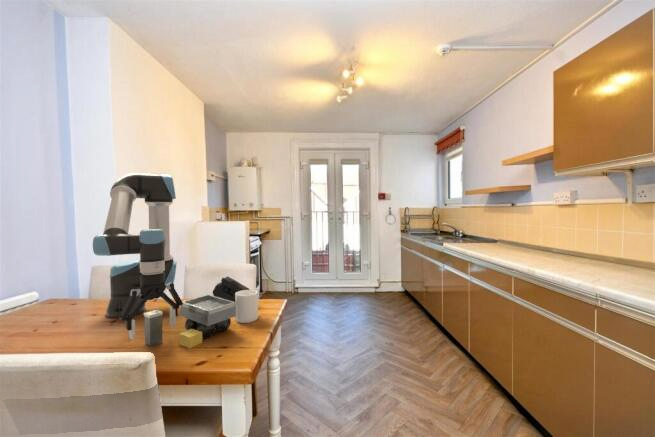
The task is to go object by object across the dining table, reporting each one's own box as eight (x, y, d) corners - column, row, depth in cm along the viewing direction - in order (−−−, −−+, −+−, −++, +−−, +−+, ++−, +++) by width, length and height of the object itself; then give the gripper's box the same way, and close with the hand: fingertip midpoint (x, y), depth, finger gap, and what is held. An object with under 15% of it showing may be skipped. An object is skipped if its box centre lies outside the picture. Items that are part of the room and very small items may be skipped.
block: (178, 344, 102) (178, 333, 102) (191, 339, 106) (191, 328, 106) (189, 348, 99) (189, 337, 99) (202, 342, 104) (202, 331, 103)
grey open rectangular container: (179, 331, 113) (179, 302, 113) (209, 321, 124) (209, 294, 123) (206, 343, 103) (206, 311, 102) (236, 330, 113) (236, 301, 113)
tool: (209, 299, 145) (224, 273, 145) (243, 317, 146) (258, 291, 146) (205, 303, 138) (221, 276, 139) (240, 321, 140) (256, 295, 140)
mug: (231, 322, 122) (231, 295, 122) (244, 312, 134) (244, 287, 133) (251, 324, 120) (251, 296, 120) (263, 314, 132) (263, 288, 132)
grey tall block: (144, 343, 103) (143, 312, 102) (157, 339, 106) (156, 309, 106) (150, 346, 100) (149, 315, 100) (163, 342, 104) (162, 311, 103)
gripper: (115, 280, 90) (117, 348, 90) (192, 268, 111) (192, 323, 111) (106, 277, 94) (107, 342, 95) (181, 266, 115) (182, 319, 115)
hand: (153, 332), depth 103 cm, fingers open, 13 cm apart
